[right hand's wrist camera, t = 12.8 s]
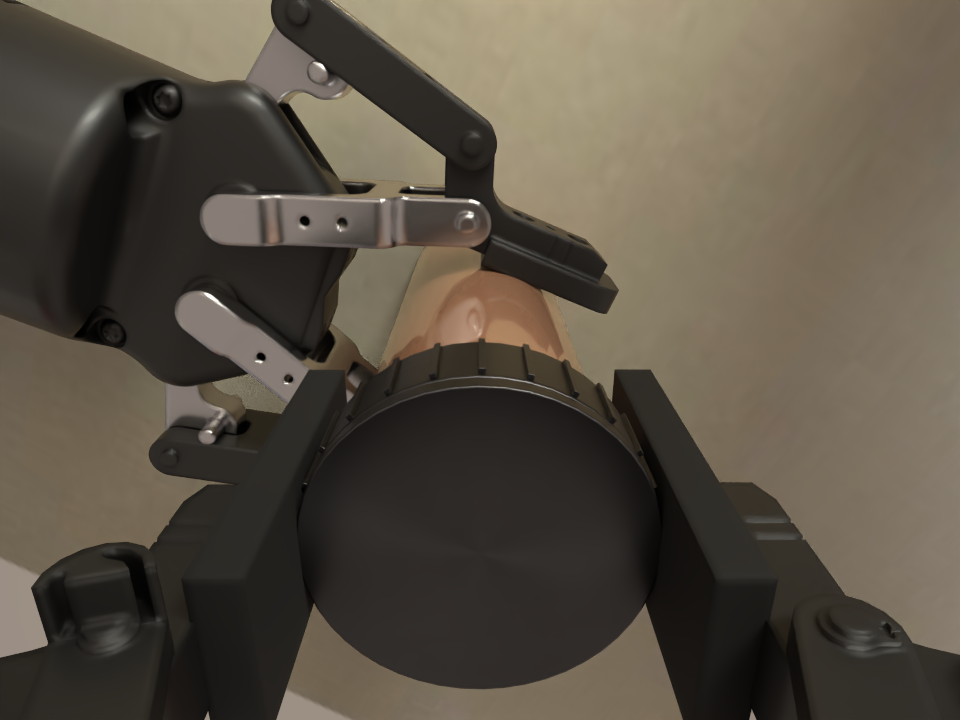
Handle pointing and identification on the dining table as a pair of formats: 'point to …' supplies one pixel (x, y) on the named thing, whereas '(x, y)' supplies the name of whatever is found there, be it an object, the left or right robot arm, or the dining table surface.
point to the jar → (474, 309)
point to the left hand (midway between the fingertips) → (562, 378)
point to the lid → (479, 518)
